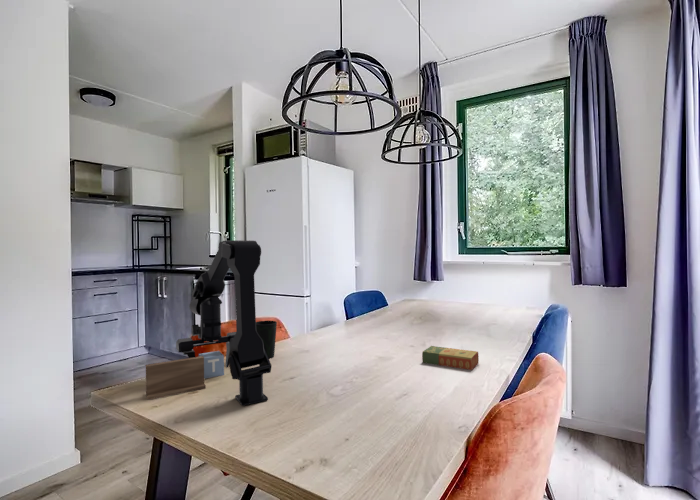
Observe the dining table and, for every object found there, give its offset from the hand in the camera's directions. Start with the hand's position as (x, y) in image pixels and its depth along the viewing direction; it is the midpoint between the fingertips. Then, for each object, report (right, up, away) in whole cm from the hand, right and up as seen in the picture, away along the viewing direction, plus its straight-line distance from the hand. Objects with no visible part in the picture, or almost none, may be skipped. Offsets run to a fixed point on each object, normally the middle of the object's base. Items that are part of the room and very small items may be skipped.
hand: (211, 369), depth 114 cm
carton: (+74, -1, +8) cm, 75 cm away
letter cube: (0, -1, 0) cm, 1 cm away
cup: (+13, -1, +17) cm, 22 cm away
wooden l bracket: (-5, -1, -14) cm, 14 cm away
